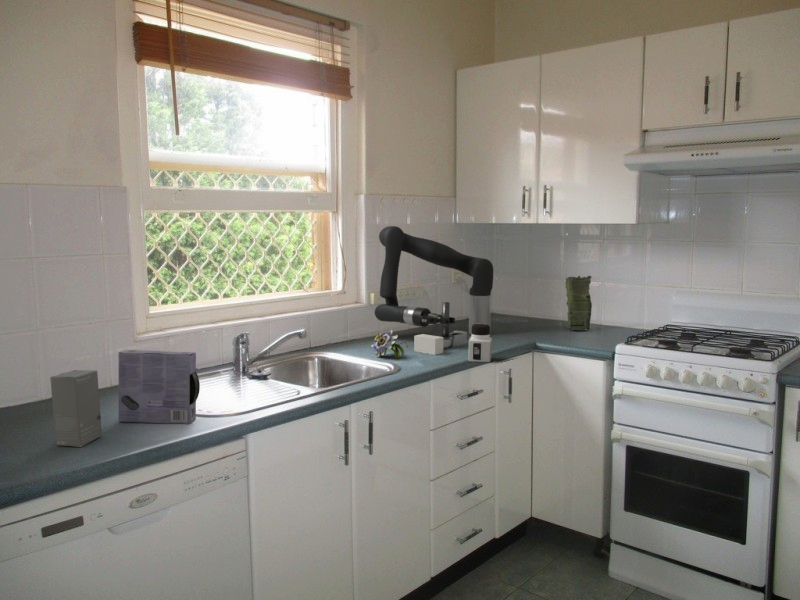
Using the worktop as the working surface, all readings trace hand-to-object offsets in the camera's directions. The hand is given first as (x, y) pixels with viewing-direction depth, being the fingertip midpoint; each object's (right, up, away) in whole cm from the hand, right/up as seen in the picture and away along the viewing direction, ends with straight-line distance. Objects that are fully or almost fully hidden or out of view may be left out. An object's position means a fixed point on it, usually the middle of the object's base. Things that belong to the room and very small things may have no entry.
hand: (451, 321), depth 257 cm
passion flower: (-24, -13, -13) cm, 30 cm away
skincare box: (-93, -24, -106) cm, 143 cm away
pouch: (+61, -6, +48) cm, 78 cm away
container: (+9, -14, -17) cm, 24 cm away
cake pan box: (-80, -22, -91) cm, 123 cm away
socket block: (-9, -12, -5) cm, 16 cm away
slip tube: (-1, -10, +5) cm, 12 cm away
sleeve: (+2, -10, +8) cm, 13 cm away
